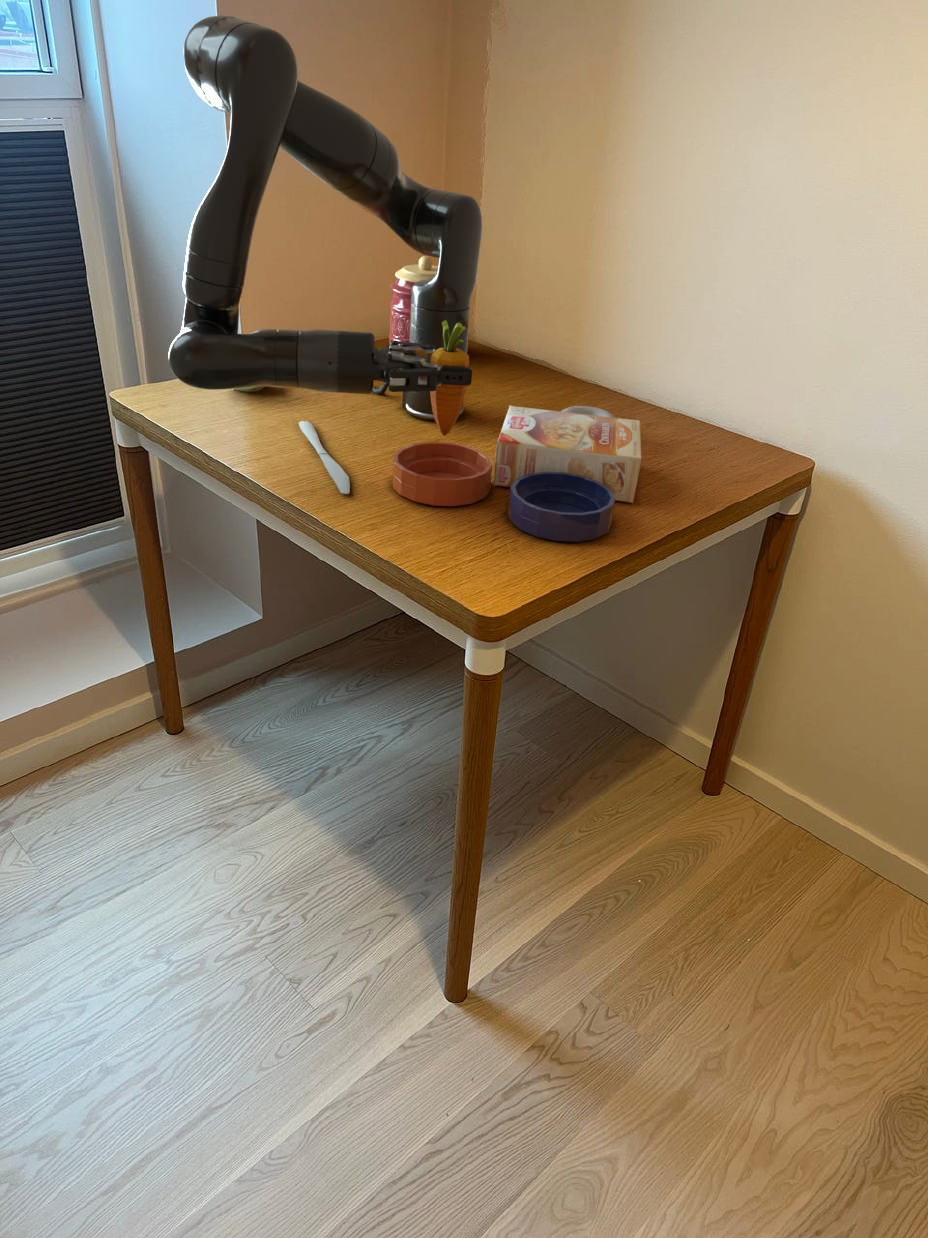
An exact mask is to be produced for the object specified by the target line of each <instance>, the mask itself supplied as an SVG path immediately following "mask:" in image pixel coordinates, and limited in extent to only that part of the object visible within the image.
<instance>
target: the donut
mask: <svg viewBox="0 0 928 1238" xmlns="http://www.w3.org/2000/svg"><path fill="white" fill-rule="evenodd" d="M560 412H567V413H576V414H584V415H593V416H602V417H610V418H616V416H615V415H614V414H612V413H611V412H609V411H608V410H606V409H602V408H599V407H594V406H586V405H575V406H568V407H567V408H564V409H562V410H561V411H560Z"/></svg>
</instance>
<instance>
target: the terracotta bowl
mask: <svg viewBox="0 0 928 1238" xmlns="http://www.w3.org/2000/svg"><path fill="white" fill-rule="evenodd" d="M392 458H393V459H392V460H393V461H392V488H393V489H394V491H396V493H398V494H399V495H400V496H402V497H404V498H406V499H408V500H410V501H413V502H415V503H420V504H424V505H430V506H435V507H436V506H438V507H459V506H465V505H471V504H475V503H477V502H479V501H481V500H483V499H485V498H486V497H487V495H488V494H489V493H490V492H491V485H492V474H493V464H492V459H491V458H490V457H489V456H488V455H487V454H485V453H484V452H483V451H482V450H478V449H477V448H473V447H471V446H468V445H465V444H459V443H454V442H448V441H447V442H446V441H445V442H444V441H442V442H441V441H425V442H419V443H411V444H409V445H406V446H403V447H401V448H399V449H398V450H397V451H396V452H395V453H393V457H392Z"/></svg>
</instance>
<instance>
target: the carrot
mask: <svg viewBox="0 0 928 1238" xmlns="http://www.w3.org/2000/svg"><path fill="white" fill-rule="evenodd" d="M442 326H443V338H444V343H445V348H439V349H438V350H436V351H435V352H434V353H433V354H432V355H431V359H430V363H432V364H439V365H441V366H442V368H443V365H448V366H465V367H470V356H468V355H469V354H468V353H467V354H468V355H467V354H466V353H465V352H463V351H462V350H460V349H457V347H458V346H459V345H461V344H462V343H463V340H458V341H457V339H458V337H459V336H460V334H461V333H462V332H463V331H464V330H465V329H466V327H464V326H463V327H462V324H461V323H457V324H456V325H455V327H454V329H453V331H452V333H451V335H450V337H449V327H448V323H447V321H443V322H442ZM456 341H457V342H456ZM466 392H467V386H463V385H446V384H442V383H441V386H439V387H436V390H435V391H430V396H431V404H432V410H433V414H434V418H435V421H434V422H435V423H436V426H437V428H438V430H439V432H440V434H442V435H443V436H444V437H446V436H448V434H450V432H451V431H452V429H453V427H454V426H455V424H456V423H457V420H458V416H459V414H460V410H461V407H462V404H463V405H464V401H465V395H466Z"/></svg>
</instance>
